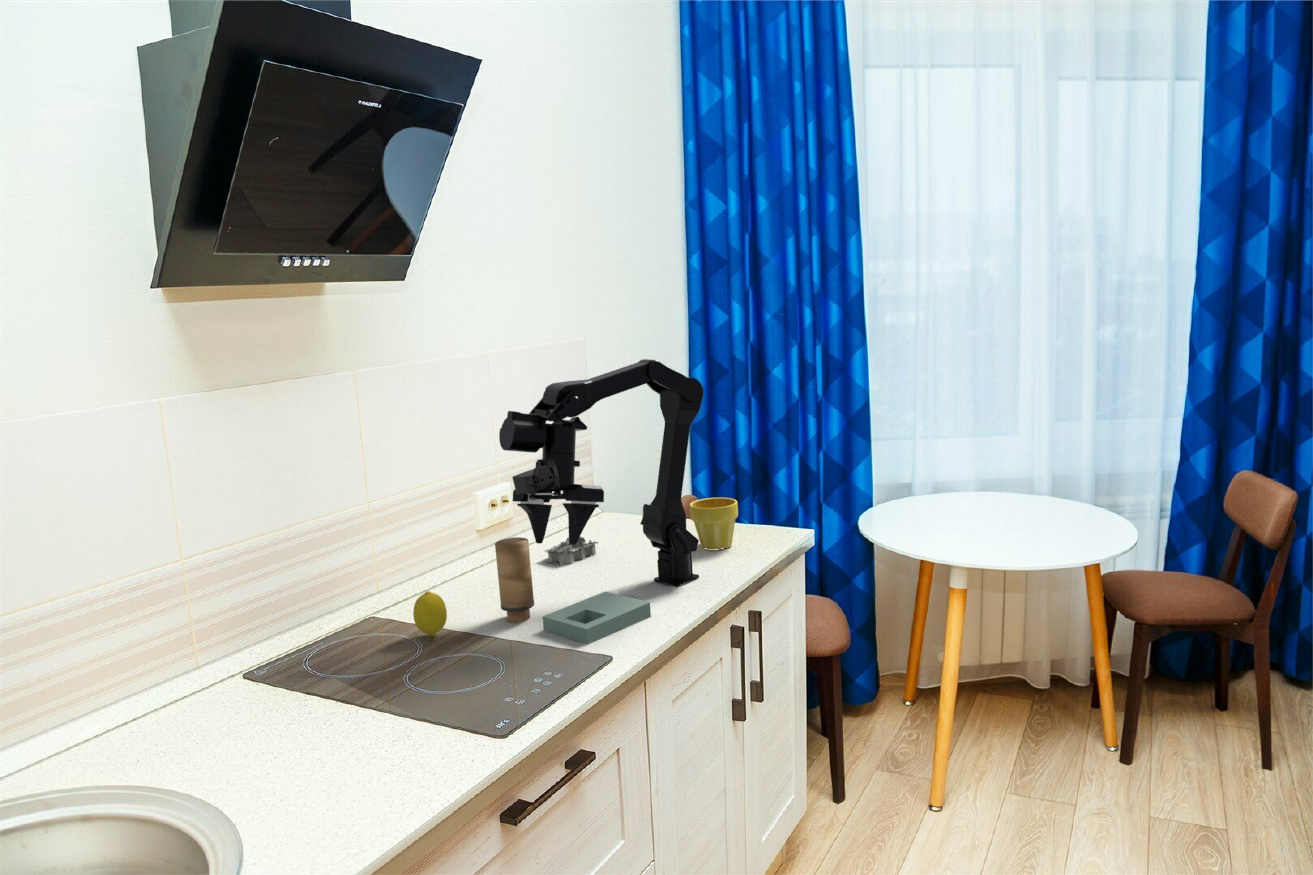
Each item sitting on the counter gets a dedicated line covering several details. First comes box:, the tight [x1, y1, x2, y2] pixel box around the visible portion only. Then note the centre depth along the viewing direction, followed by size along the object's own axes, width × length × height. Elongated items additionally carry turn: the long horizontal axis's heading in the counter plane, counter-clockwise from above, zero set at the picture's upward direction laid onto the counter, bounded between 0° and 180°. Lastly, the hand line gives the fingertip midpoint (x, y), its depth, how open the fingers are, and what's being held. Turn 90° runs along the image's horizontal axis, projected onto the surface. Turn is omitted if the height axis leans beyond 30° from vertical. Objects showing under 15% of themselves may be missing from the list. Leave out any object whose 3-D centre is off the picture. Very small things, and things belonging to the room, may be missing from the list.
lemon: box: [412, 590, 448, 637], centre depth 161 cm, size 6×6×8 cm
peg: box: [494, 536, 535, 623], centre depth 166 cm, size 6×6×14 cm
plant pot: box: [689, 497, 739, 549], centre depth 203 cm, size 10×10×10 cm
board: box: [541, 591, 652, 645], centre depth 162 cm, size 15×11×2 cm
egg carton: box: [543, 536, 599, 566], centre depth 203 cm, size 11×8×4 cm
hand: (555, 544), depth 164 cm, fingers open, 9 cm apart
